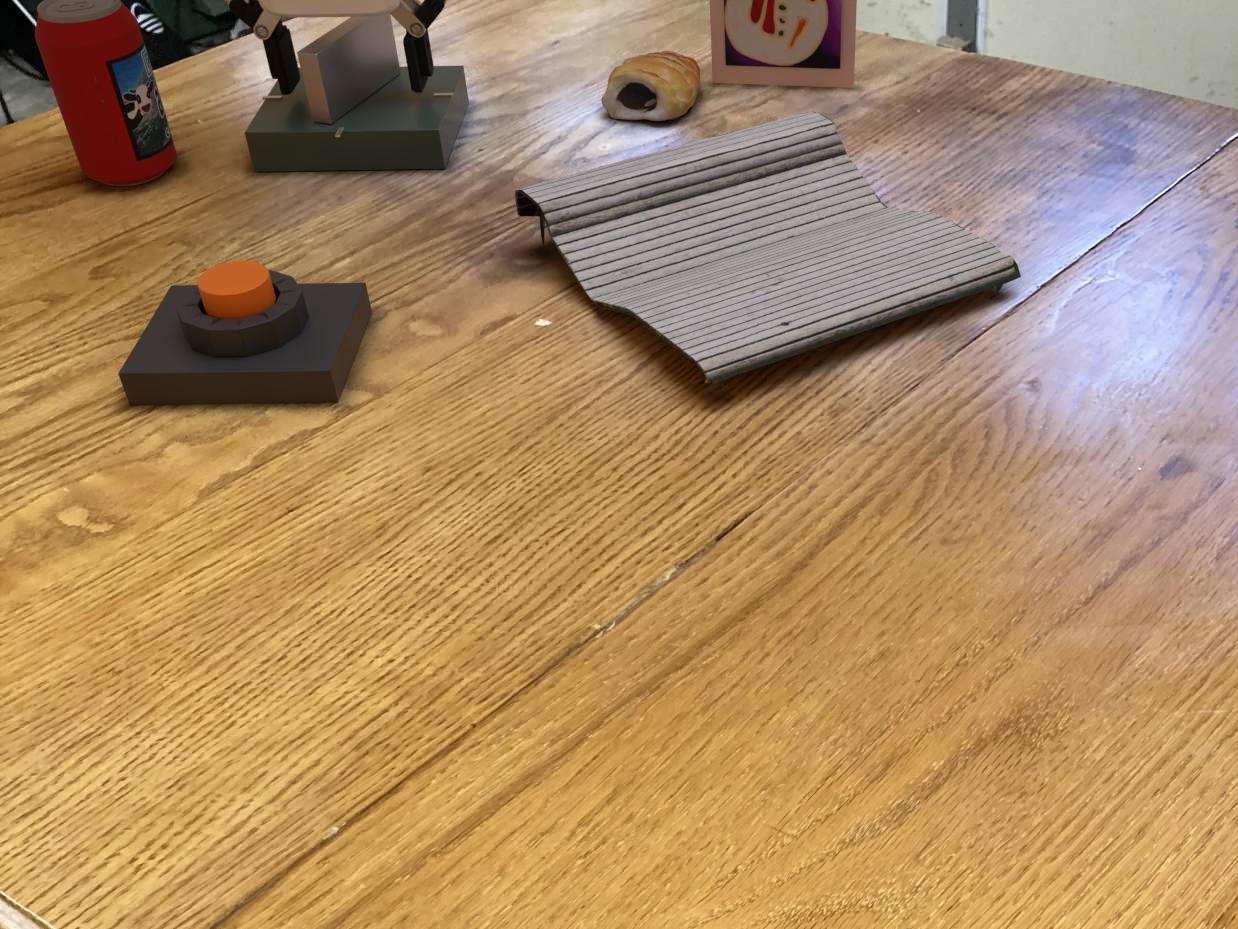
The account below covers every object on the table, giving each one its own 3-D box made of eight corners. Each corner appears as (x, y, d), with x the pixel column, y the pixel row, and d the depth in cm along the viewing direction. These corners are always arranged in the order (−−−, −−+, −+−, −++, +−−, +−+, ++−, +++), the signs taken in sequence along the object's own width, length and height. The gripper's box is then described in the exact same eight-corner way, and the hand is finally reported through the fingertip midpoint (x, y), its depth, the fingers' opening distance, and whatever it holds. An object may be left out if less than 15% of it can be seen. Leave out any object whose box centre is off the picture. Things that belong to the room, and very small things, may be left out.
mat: (707, 413, 80) (704, 340, 77) (519, 249, 95) (510, 182, 92) (1021, 294, 89) (1029, 224, 86) (805, 162, 104) (805, 98, 101)
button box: (129, 406, 82) (107, 345, 79) (181, 316, 89) (162, 258, 86) (338, 403, 81) (323, 342, 79) (372, 313, 89) (359, 255, 86)
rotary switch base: (249, 179, 103) (237, 136, 101) (295, 100, 114) (285, 60, 112) (444, 176, 103) (437, 133, 101) (472, 97, 114) (466, 57, 112)
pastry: (643, 73, 117) (640, 26, 114) (721, 83, 115) (720, 35, 112) (597, 119, 110) (593, 70, 108) (679, 130, 108) (677, 80, 106)
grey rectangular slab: (331, 124, 103) (315, 51, 99) (312, 121, 103) (295, 48, 100) (401, 73, 110) (388, 2, 106) (382, 70, 110) (369, 0, 107)
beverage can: (184, 182, 103) (134, 11, 95) (86, 199, 101) (26, 27, 93) (176, 145, 108) (127, -20, 100) (82, 161, 106) (24, -6, 98)
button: (196, 322, 81) (188, 295, 80) (216, 287, 84) (208, 260, 83) (266, 321, 81) (258, 294, 80) (283, 286, 84) (276, 259, 83)
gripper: (156, -152, 92) (226, 109, 103) (424, -157, 92) (464, 105, 103) (190, -182, 97) (253, 69, 109) (443, -187, 97) (479, 65, 109)
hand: (356, 86), depth 106 cm, fingers open, 9 cm apart
